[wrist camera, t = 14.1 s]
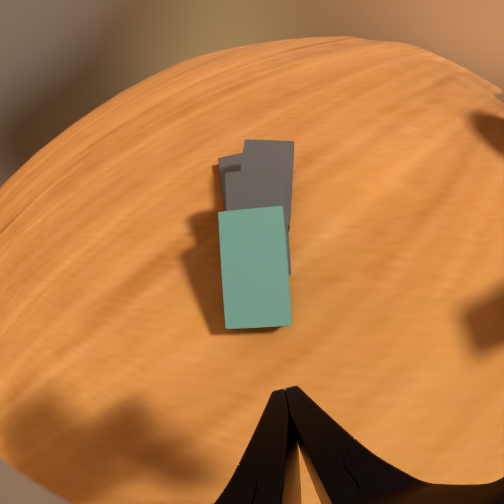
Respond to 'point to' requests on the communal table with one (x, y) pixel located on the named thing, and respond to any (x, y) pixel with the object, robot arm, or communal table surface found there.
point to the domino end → (228, 169)
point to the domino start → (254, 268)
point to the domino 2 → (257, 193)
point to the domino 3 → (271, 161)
